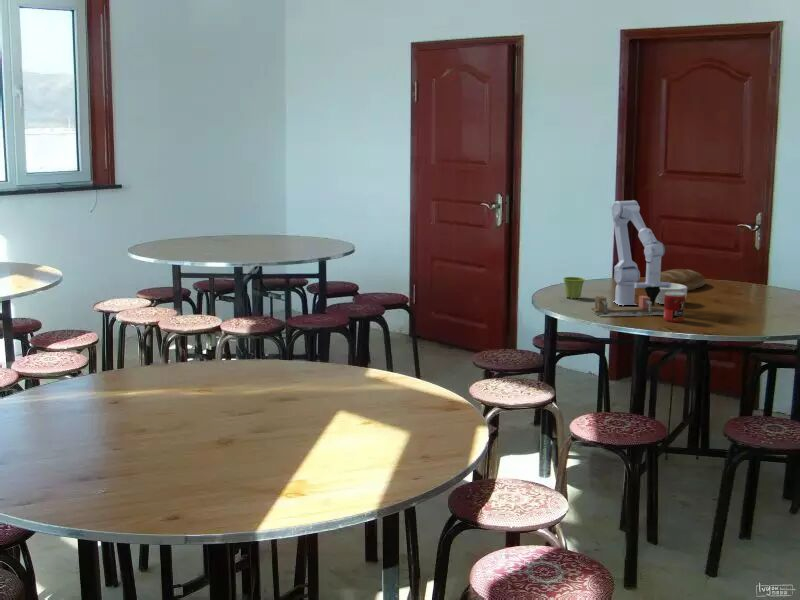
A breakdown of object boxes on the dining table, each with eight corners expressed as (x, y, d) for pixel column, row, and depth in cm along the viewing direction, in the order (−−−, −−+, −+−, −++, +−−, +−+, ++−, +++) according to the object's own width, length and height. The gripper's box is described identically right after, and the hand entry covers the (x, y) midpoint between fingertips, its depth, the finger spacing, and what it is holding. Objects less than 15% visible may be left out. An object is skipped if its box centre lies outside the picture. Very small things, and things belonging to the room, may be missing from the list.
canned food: (674, 323, 385) (676, 295, 383) (659, 319, 392) (660, 292, 390) (688, 321, 389) (689, 293, 387) (672, 317, 396) (673, 290, 394)
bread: (715, 285, 472) (716, 268, 471) (678, 295, 446) (679, 277, 444) (673, 280, 487) (673, 263, 485) (634, 290, 460) (635, 272, 459)
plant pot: (582, 296, 442) (583, 276, 441) (585, 300, 433) (586, 280, 431) (561, 296, 443) (561, 276, 441) (564, 299, 433) (564, 280, 432)
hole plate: (595, 314, 403) (595, 312, 402) (666, 312, 406) (667, 310, 405) (599, 317, 397) (599, 315, 396) (672, 315, 400) (672, 313, 400)
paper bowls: (690, 306, 419) (691, 288, 417) (654, 306, 418) (655, 288, 417) (680, 300, 434) (681, 282, 432) (645, 300, 433) (646, 282, 432)
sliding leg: (638, 306, 410) (639, 295, 409) (645, 306, 410) (646, 295, 409) (646, 311, 400) (647, 300, 399) (654, 311, 400) (654, 300, 399)
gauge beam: (591, 311, 408) (592, 295, 407) (662, 310, 411) (662, 294, 410) (598, 316, 398) (599, 300, 397) (670, 315, 401) (671, 299, 400)
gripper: (639, 274, 400) (637, 307, 403) (674, 273, 402) (672, 306, 404) (633, 271, 407) (631, 304, 410) (667, 271, 409) (665, 303, 411)
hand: (651, 305), depth 407 cm, fingers closed
